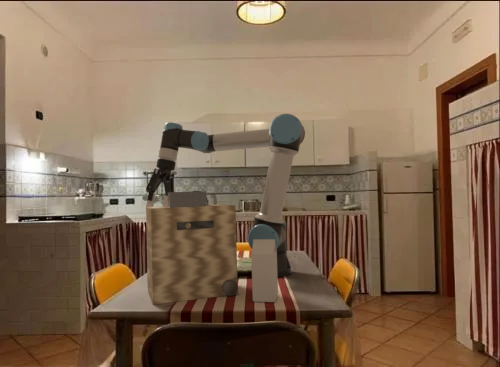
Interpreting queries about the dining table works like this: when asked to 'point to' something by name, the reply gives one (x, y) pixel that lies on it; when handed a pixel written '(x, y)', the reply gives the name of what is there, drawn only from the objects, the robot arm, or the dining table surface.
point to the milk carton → (264, 270)
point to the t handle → (186, 199)
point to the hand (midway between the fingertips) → (157, 210)
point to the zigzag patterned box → (191, 252)
